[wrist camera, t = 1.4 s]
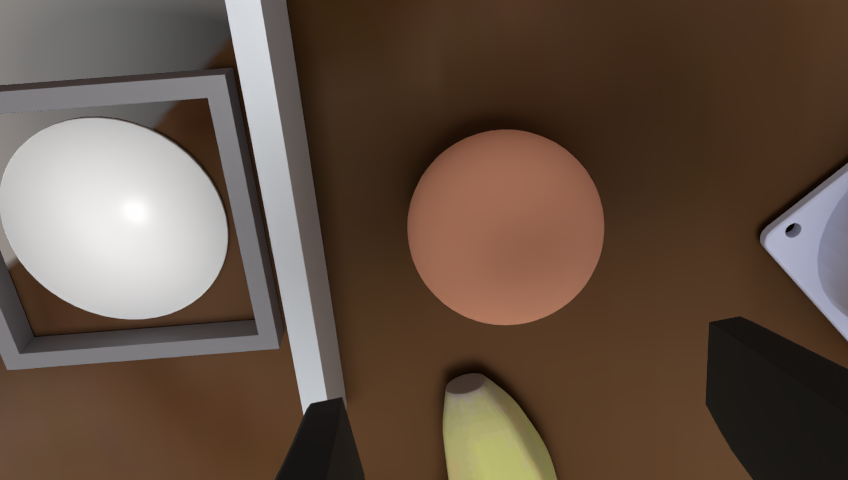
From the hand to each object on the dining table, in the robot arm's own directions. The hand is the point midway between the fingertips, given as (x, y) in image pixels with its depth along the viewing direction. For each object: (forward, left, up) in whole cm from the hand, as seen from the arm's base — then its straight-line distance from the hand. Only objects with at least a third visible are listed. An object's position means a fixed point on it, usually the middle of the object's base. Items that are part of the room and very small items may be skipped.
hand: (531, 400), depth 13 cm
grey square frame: (+8, -8, -10) cm, 15 cm away
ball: (-1, 0, -7) cm, 7 cm away
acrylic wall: (+4, -4, -10) cm, 11 cm away
